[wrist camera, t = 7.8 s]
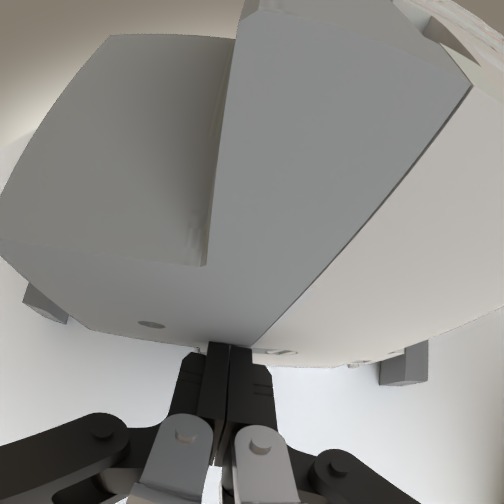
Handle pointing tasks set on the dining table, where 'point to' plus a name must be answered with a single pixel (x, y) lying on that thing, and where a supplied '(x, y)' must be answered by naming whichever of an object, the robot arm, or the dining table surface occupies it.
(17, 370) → the dining table surface
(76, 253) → the circuit breaker
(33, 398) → the dining table surface
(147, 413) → the dining table surface
